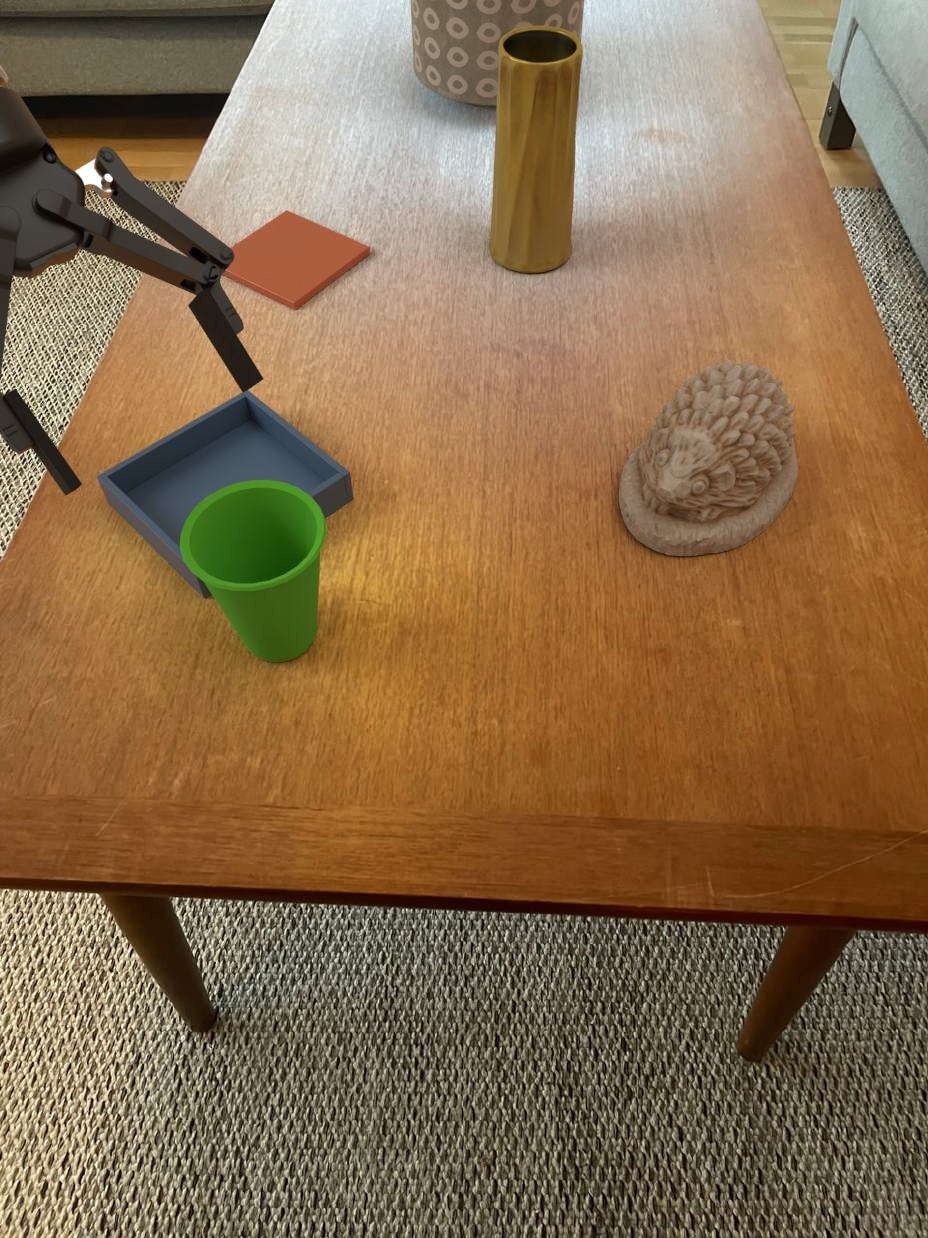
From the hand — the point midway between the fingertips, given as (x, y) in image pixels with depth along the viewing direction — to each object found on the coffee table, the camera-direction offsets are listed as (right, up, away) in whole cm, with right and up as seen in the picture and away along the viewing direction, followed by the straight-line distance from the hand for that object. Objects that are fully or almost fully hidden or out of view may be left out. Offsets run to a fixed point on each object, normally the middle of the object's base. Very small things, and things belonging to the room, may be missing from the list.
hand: (167, 436), depth 63 cm
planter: (+23, +50, +53) cm, 77 cm away
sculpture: (+38, -1, +15) cm, 41 cm away
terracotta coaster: (+2, +23, +33) cm, 41 cm away
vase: (+25, +25, +34) cm, 49 cm away
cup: (+6, -13, +7) cm, 16 cm away
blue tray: (+1, -2, +15) cm, 15 cm away
